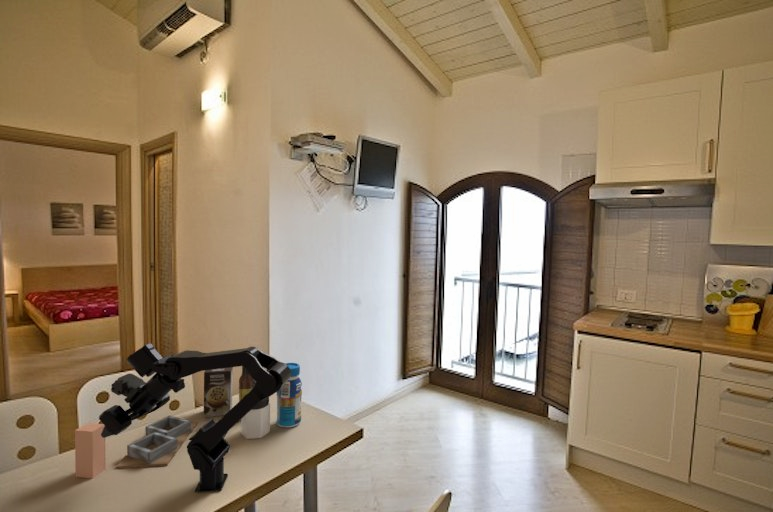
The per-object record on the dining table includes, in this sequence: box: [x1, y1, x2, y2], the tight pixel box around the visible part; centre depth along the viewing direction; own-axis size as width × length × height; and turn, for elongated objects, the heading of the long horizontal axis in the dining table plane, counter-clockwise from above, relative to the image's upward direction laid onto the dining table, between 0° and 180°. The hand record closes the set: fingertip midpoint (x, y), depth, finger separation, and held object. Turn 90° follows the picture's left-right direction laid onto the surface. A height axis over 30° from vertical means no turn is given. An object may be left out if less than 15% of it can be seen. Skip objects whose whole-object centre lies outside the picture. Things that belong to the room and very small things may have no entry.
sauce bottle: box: [238, 366, 256, 402], centre depth 139 cm, size 6×6×20 cm
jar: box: [240, 395, 271, 440], centre depth 127 cm, size 9×8×12 cm
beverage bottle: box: [276, 362, 303, 429], centre depth 134 cm, size 8×8×20 cm
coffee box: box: [202, 367, 234, 418], centre depth 140 cm, size 9×6×16 cm
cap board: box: [115, 415, 198, 469], centre depth 119 cm, size 24×13×4 cm, turn 8°
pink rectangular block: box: [74, 422, 107, 479], centre depth 104 cm, size 5×4×12 cm
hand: (117, 427), depth 103 cm, fingers open, 9 cm apart
